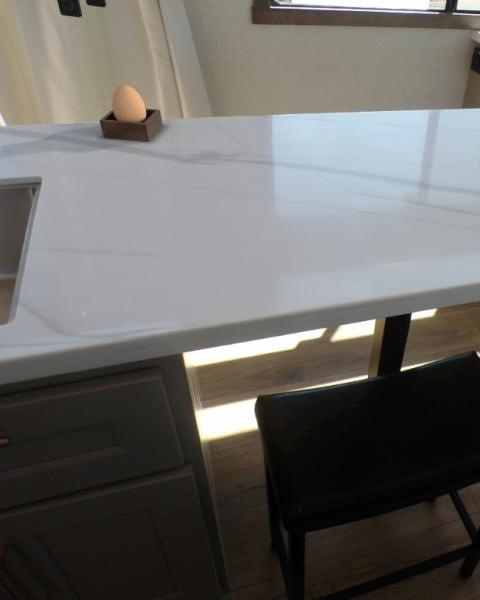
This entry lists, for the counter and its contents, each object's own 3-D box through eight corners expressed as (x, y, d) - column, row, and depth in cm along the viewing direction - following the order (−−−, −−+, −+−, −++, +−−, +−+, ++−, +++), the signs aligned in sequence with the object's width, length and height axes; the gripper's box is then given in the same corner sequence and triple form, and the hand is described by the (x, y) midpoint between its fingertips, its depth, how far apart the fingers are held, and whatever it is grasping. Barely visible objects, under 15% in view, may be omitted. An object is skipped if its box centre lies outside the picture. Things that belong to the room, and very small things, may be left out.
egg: (142, 135, 101) (133, 91, 96) (112, 132, 101) (101, 88, 95) (153, 125, 105) (145, 82, 100) (124, 122, 105) (115, 79, 100)
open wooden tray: (103, 137, 100) (99, 120, 98) (120, 122, 106) (116, 105, 104) (149, 141, 100) (145, 124, 98) (162, 126, 107) (159, 109, 105)
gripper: (58, -119, 85) (83, 0, 95) (-2, -122, 71) (35, 17, 82) (106, -112, 86) (126, 5, 96) (56, -113, 72) (86, 23, 82)
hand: (84, 10), depth 89 cm, fingers open, 9 cm apart
